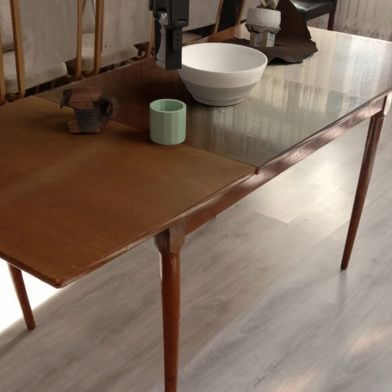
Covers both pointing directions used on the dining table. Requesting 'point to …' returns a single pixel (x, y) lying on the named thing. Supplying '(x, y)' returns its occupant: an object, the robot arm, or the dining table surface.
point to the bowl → (221, 72)
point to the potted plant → (277, 32)
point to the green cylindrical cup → (167, 121)
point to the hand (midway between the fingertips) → (168, 63)
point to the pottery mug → (88, 108)
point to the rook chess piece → (162, 42)
